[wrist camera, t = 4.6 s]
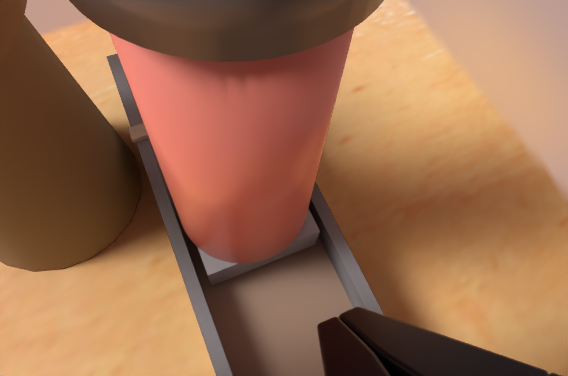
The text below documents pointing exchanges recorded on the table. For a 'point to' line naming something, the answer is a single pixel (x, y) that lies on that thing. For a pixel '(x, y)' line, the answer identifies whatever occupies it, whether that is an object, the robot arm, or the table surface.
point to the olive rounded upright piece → (55, 158)
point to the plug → (235, 112)
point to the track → (259, 283)
